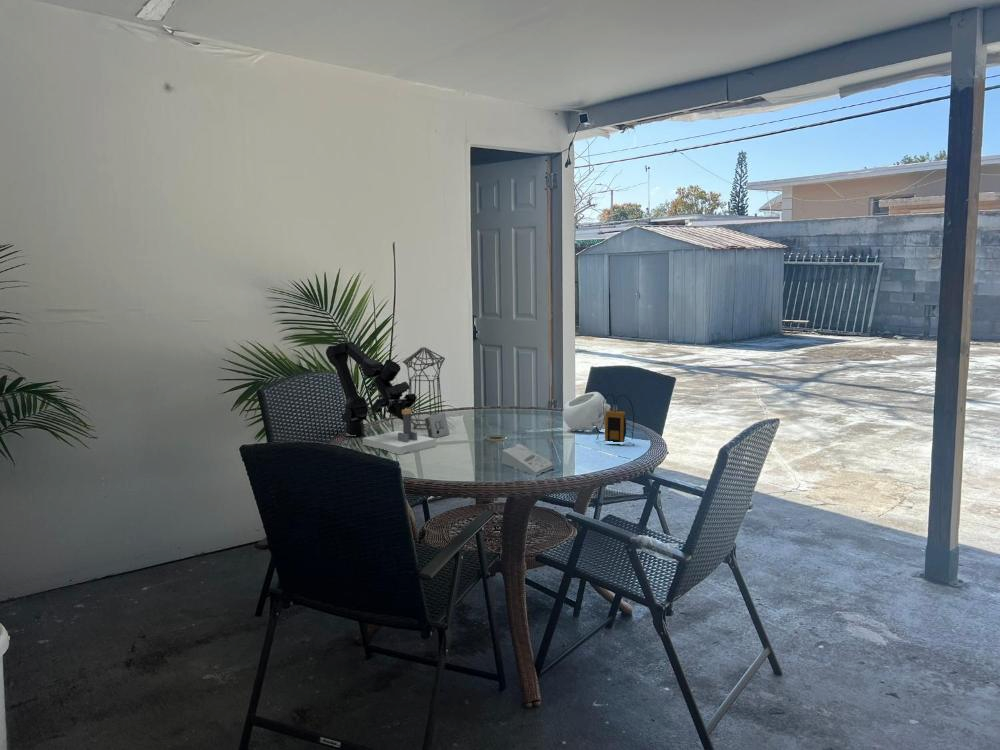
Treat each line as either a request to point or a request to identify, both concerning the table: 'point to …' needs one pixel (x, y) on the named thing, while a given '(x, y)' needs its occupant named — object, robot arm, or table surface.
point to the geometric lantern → (424, 380)
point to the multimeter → (615, 424)
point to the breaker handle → (407, 421)
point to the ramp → (525, 459)
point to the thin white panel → (400, 442)
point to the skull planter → (585, 412)
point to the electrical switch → (437, 425)
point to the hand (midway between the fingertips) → (405, 420)
